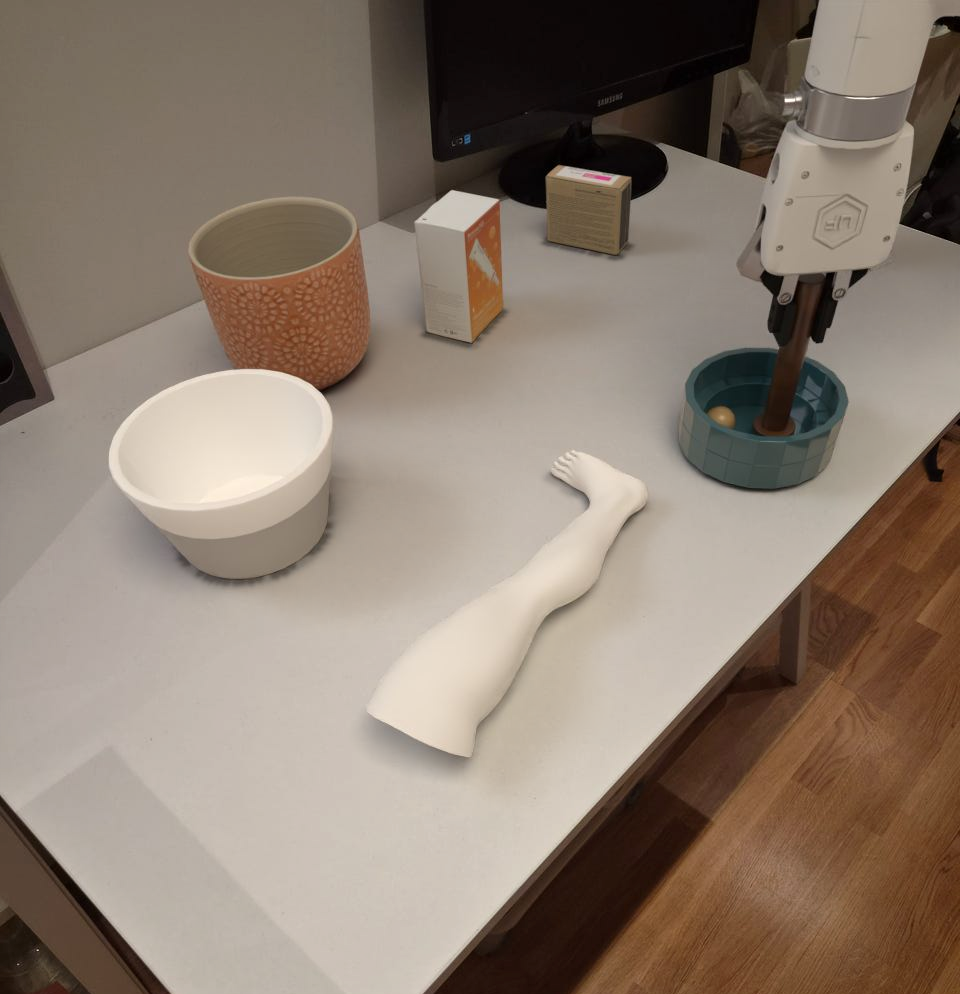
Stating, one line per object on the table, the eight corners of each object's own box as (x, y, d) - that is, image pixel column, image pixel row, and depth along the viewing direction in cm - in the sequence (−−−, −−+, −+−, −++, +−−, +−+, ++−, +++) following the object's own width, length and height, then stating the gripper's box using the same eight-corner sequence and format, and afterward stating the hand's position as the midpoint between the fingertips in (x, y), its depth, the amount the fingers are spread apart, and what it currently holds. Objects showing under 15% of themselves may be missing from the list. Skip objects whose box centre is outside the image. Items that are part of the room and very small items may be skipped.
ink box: (629, 244, 111) (634, 175, 105) (616, 257, 109) (621, 189, 103) (558, 228, 115) (558, 162, 108) (544, 242, 113) (544, 174, 106)
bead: (736, 441, 84) (739, 412, 82) (705, 443, 84) (707, 414, 82) (730, 429, 86) (733, 400, 84) (700, 431, 87) (702, 402, 85)
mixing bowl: (858, 435, 85) (877, 383, 80) (780, 515, 79) (795, 463, 74) (729, 381, 92) (739, 330, 87) (648, 451, 85) (654, 400, 81)
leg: (330, 687, 61) (458, 747, 57) (555, 430, 81) (661, 462, 77) (344, 743, 66) (462, 801, 62) (552, 488, 86) (652, 520, 82)
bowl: (362, 581, 77) (340, 489, 68) (144, 617, 76) (94, 527, 67) (347, 446, 89) (327, 354, 80) (159, 475, 88) (118, 385, 79)
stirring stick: (801, 430, 84) (844, 273, 72) (779, 450, 83) (820, 294, 70) (765, 414, 86) (801, 259, 74) (743, 434, 85) (776, 279, 72)
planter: (365, 314, 104) (341, 184, 93) (394, 393, 94) (372, 258, 82) (224, 343, 102) (182, 213, 90) (239, 428, 92) (193, 293, 80)
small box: (472, 344, 99) (464, 231, 89) (425, 332, 101) (411, 221, 91) (505, 309, 103) (500, 197, 93) (459, 298, 105) (449, 188, 95)
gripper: (753, 137, 60) (714, 368, 74) (987, 117, 60) (902, 353, 74) (728, 96, 65) (696, 321, 79) (945, 77, 64) (873, 306, 79)
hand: (796, 334), depth 76 cm, fingers closed on stirring stick, 2 cm apart
